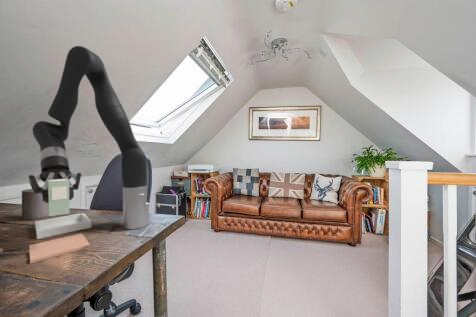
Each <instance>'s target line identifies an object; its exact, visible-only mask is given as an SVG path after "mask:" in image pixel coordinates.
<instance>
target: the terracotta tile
mask: <svg viewBox="0 0 476 317" xmlns="http://www.w3.org/2000/svg"><path fill="white" fill-rule="evenodd" d="M28 246H29V264H34V263H37V262H41V261H44V260H47V259H51V258H54V257H59V256H62V255H66V254H70V253H73V252H77V251H81V250H84V249H88V248H91V244H90V242H89V241H88V239H87V238H86V237H85V236H84V234H83V232H81V233H77V234H73V235H69V236H64V237H60V238H56V239H51V240H46V241H43V242H38V243H32V244H29V245H28Z"/></svg>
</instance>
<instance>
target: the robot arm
mask: <svg viewBox="0 0 476 317" xmlns="http://www.w3.org/2000/svg"><path fill="white" fill-rule="evenodd" d="M84 76H85V77H86V78H87V80H88V82H89V83H90V86H91V87H92V90H93V93H94V102H95V108H96V111H97V113H98V115H99V118H100V120H101V121H102V123H103V124H104V127H105V128H106V129H107V131H108V132H109V134H110V135H111V137H112V138H113V140H114V141H115V142H116V144H117V146H118V148H119V152H120V153H121V180H122V224H123V226H122V227H123V229H125V230H136V229H140V228H143V227H146V226H148V225H150V203H149V202H148V194H147V192H148V186H147V184H148V183H147V182H148V181H147V180H148V177H147V156H146V154H145V152H144V151H143V149H142V148H141V146H140V145H139V143H138V141H137V139H136V137H135V135H134V132H133V130H132V126H131V123H130V120H129V117H128V116H127V113H126V112H125V109H124V107H123V105H122V103H121V101H120V100H119V98H118V95H117V93H116V91H115V90H114V89H115V88H114V87H113V86H112V83H111V81H110V78H109V76H108V73H107V70H106V67H105V64H104V62H103V60H102V59H101V57H100V56H99V55H98V54H96V53H94V51H91V50H90V49H88V48H86V47H84V46H82V45H76V46H73V47H71V48H70V49H69V50H68V52H67V55H66V58H65V62H64V68H63V71H62V75H61V78H60V83H59V86H58V90H57V91H56V94H55V97H54V99H53V101H52V102H51V105H50V107H49V109H48V110H47V111H48V112H47V114H48V116H49V117H50V118H52V119H54V120H57V121H58V122H59V124H56V123H52V122H49V121H45V120H39V121H37V122H36V123H34V124H33V127H32V135H33V137H34V139H35V140H36V142H37V144H38V145H39V148H40V157H39V159H40V160H39V163H40V174H39V175H34V174H29V175H28V183H29V185H30V187H31V189H33V191H34V193H41V194H42V200H43V202H45V201H46V203H49V196H48V190H47V189H48V182H47V180H56V179H68V180H69V201H71V200H72V199H74V195H75V192H74V191H75V190H76V191H77V190H79V186H80V183H81V178H82V173H81V172H77V173H72V172H71V169H70V163H69V157H68V154H67V150H66V144H65V142H66V141H67V139H68V138H69V133H70V132H69V131H70V123H71V119H72V117H73V115H74V113H75V111H76V109H77V106H78V102H79V89H80V85H81V82H82V79H83V78H84ZM71 178H72V179H73V180H74V181H75V182H74V184H73V183H72V182H71V180H70V179H71ZM40 180H41V181H42V182H44V184H43V186H42V187H41V186H39V181H40Z"/></svg>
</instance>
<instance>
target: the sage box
mask: <svg viewBox="0 0 476 317" xmlns="http://www.w3.org/2000/svg"><path fill="white" fill-rule="evenodd" d="M69 180H70V179H69ZM69 180H68V179H56V180H47V182H48V189H47V190H48V196H49V203H48V215H47V216H48V217H55V216H60V215H61V216H62V215H67V214H70V200H69Z"/></svg>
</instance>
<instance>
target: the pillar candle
mask: <svg viewBox="0 0 476 317" xmlns="http://www.w3.org/2000/svg"><path fill="white" fill-rule="evenodd" d="M48 216H49V215H48V203H46V201H45V202H43V200H42V194H41V193H34V191H33V189H32V188H28V189H24V190H21V220H22V221H23V220H24V222H26V221H27V222H28V221H35V220H36V221H37V219H40V218H44V217H48Z"/></svg>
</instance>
